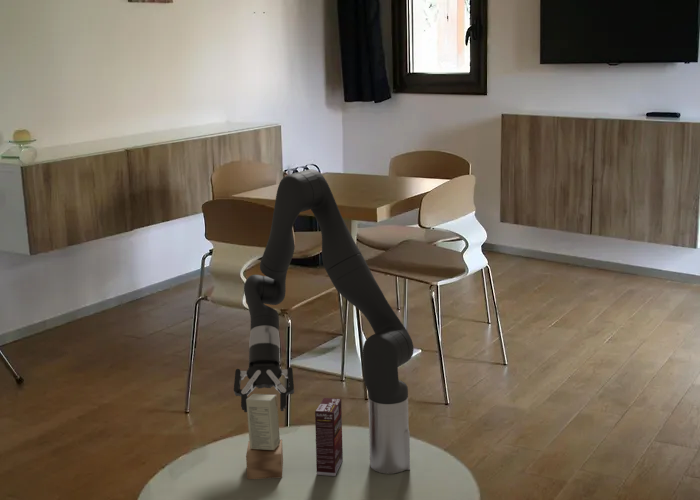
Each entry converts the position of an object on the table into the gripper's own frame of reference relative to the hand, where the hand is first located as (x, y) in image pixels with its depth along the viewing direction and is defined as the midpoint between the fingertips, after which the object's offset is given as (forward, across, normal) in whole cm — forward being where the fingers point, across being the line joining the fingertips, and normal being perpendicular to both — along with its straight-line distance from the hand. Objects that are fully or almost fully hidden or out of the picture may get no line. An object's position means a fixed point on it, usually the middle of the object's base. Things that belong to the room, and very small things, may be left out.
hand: (263, 410), depth 206 cm
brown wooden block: (+12, 0, +8) cm, 14 cm away
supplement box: (+12, +15, +8) cm, 21 cm away
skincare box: (+8, 0, +4) cm, 8 cm away
